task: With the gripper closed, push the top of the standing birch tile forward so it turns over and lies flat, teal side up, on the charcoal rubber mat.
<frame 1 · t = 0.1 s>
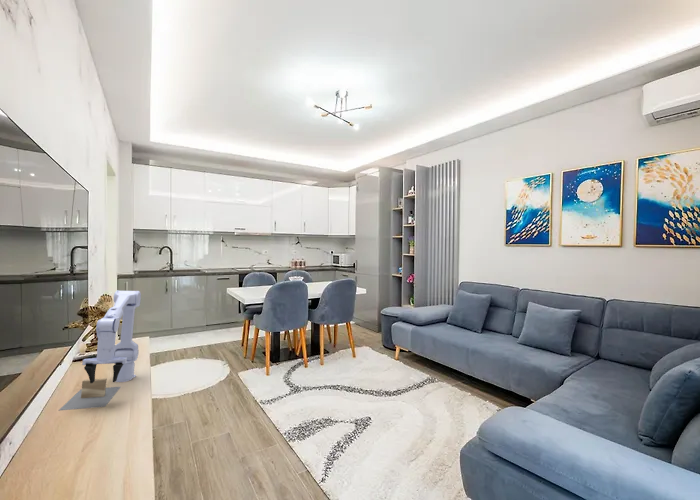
hand: (103, 381, 132), 10 cm above the tv stand, tool pointing down, fingers open, 7 cm apart
mat: (92, 398, 137), on the tv stand
tile: (93, 396, 138), point 1 cm above the tv stand, touching mat
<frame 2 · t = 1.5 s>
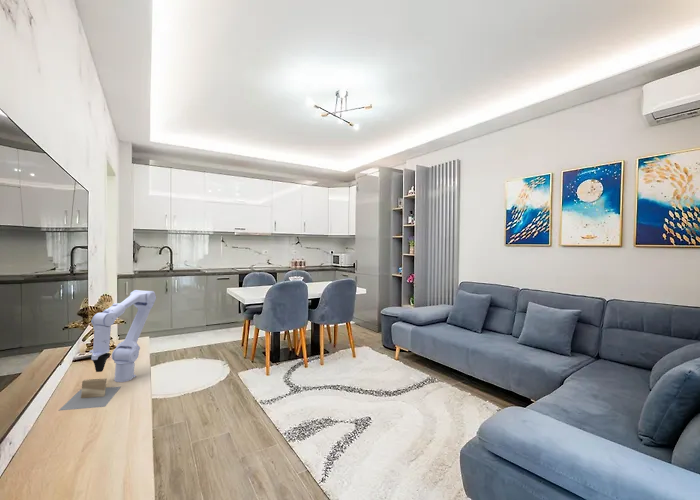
hand: (99, 371, 143), 9 cm above the tv stand, tool pointing down, fingers closed
nothing on the tv stand moved.
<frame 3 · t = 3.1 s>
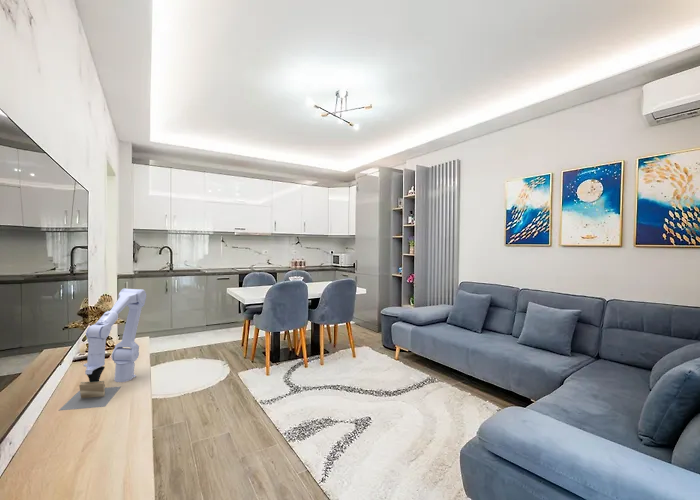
hand: (94, 385, 138), 5 cm above the tv stand, tool pointing down, fingers closed
tile: (93, 395, 138), point 1 cm above the tv stand, tilted 23°, touching mat
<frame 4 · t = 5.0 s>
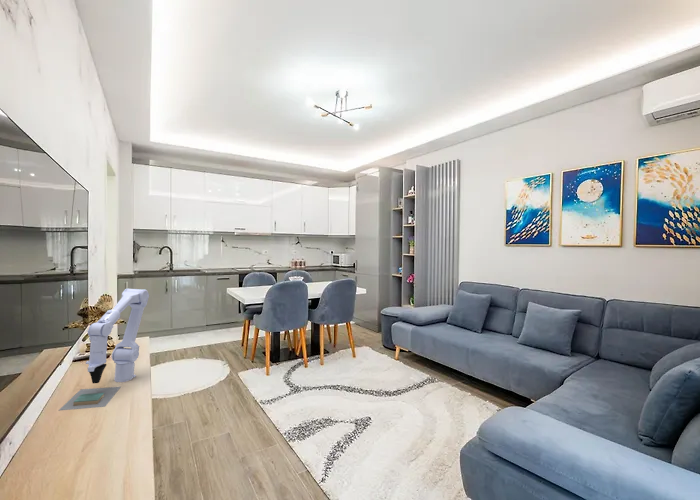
hand: (96, 382, 140), 6 cm above the tv stand, tool pointing down, fingers closed
tile: (92, 395, 137), point 1 cm above the tv stand, tilted 90°, touching mat
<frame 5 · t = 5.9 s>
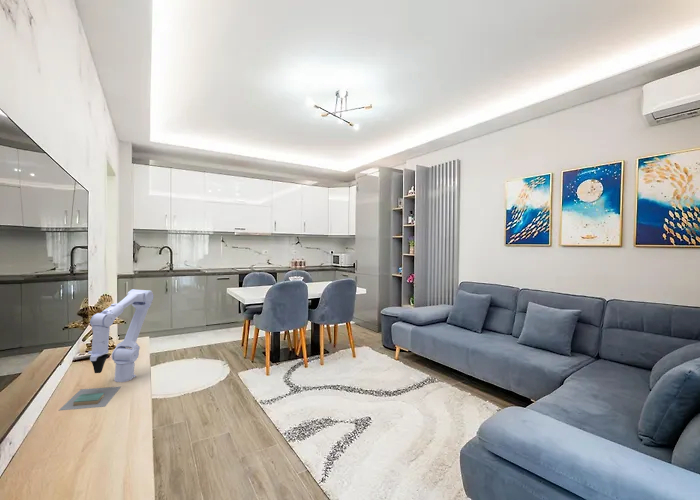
hand: (98, 372, 141), 9 cm above the tv stand, tool pointing down, fingers closed
nothing on the tv stand moved.
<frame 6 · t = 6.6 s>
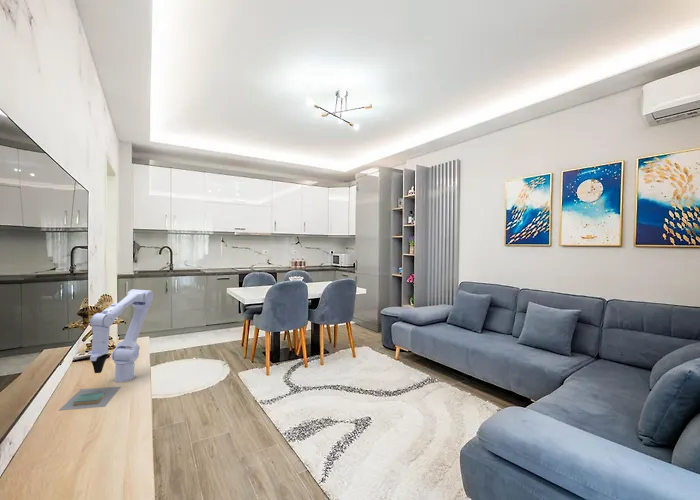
hand: (98, 372, 141), 9 cm above the tv stand, tool pointing down, fingers closed
nothing on the tv stand moved.
at the end: tile tilted 90°; tile inside the target area on the mat (1.6 cm from its centre), point 1.4 cm above the mat's base; tile touching mat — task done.
